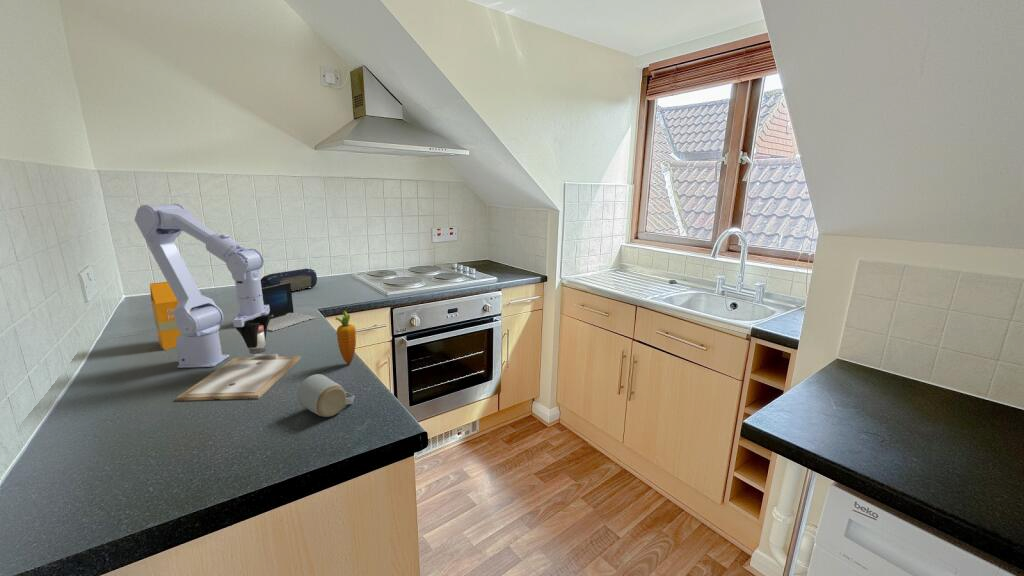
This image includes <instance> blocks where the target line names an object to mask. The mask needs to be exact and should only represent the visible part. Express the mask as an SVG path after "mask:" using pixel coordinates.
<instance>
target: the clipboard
mask: <svg viewBox="0 0 1024 576" xmlns="http://www.w3.org/2000/svg"><path fill="white" fill-rule="evenodd" d="M301 359H302V356H301V355H292V356H291V355H290V356H289V355H288V356H284V355H283V356H279V353H258V354H253V356H248V357H247V356H242V357H234V358H232V359H231V360H229V361H228V362H227V363H225V364H223V365H222V366H220V367H219V368H217V369H216V370H215V371H213V372H212V373H210V374H209V375H207V376H205V377H204V378H203V379H202V380H200V381H198V382H197V383H195V384H194V385H193V386H191V387H190V388H188V389H187V390H185V391H184V392H182V393H181V394H179V395H178V396H176V401H177V402H179V401H180V402H182V401H210V400H212V401H213V400H214V399H220V400H246V399H248V398H249V399H251V398H252V399H260V398H261V397H262V396H263V395H264V394H265V393H266V392H267V391H268V390H269V389H271V387H273V385H275V382H276V383H277V381H279V380H280V379H281V378H282V377H283V376H284V375H285V374H286V373H288V371H290V370H291V368H293V367H294V366H295V365H296V364H297V363H298V362H299V361H300V360H301ZM249 399H248V400H249ZM252 399H251V400H252Z"/></svg>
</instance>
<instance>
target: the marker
mask: <svg viewBox="0 0 1024 576" xmlns="http://www.w3.org/2000/svg"><path fill="white" fill-rule="evenodd" d="M266 345H267V344H266V339H265V336H264V327H263V325H261V324H260V325H259V328H258V333H257V347H256V348H248V352H249V354H251V355H256V354H263V353H265V352H266V351H267V346H266Z"/></svg>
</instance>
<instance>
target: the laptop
mask: <svg viewBox="0 0 1024 576" xmlns="http://www.w3.org/2000/svg"><path fill="white" fill-rule="evenodd" d="M292 293H293V292H291V284H290V282H289V283H284V284H280V285H275V286H270V287H266V288H262V296H263V303H264V305H269V309H270V311H269V314H270V315H271V319H270V321H269V324H268V327H267V331H271V332H276V331H278V329H279V330H282V329H285V328H288V326H289V327H292V326H294V325H293V324H295V325H297V324H296V323H298V324H300V323H299V322H301V323H303V322H302V321H304V322H307V321H306V320H308V321H310V320H309V319H311V320H314V319H316V318H317V316H313V315H308V314H307V315H306V314H302V313H299V314H300V315H297V314H298V313H297V312H294V304H293V296H292V295H293V294H292ZM292 313H293V314H294V313H295V314H296V315H297V316H296V315H295V314H294V315H293V314H292ZM289 314H292V317H291V316H290V315H289ZM303 315H304V316H303ZM294 316H295V317H294ZM283 317H284V318H283ZM297 318H298V319H297ZM313 318H314V319H313ZM284 319H285V320H284ZM291 325H292V326H291ZM275 330H276V331H275Z"/></svg>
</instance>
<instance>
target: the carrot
mask: <svg viewBox="0 0 1024 576" xmlns="http://www.w3.org/2000/svg"><path fill="white" fill-rule="evenodd" d="M342 315H343V316H342V318H340V317H337V316H336V317H335V320H337V321H338V322H339V323H340V324H341V325H339V326H338V327H337V329H336V337H337V345H338V348H339V351H340V354H341V357H342V359H343V360H344V362H345V363H346V364H348V365H350V364H351V363H352V361H353V359H354V356H355V353H356V347H357V334H356V333H357V331H356V330H357V329H356V326H355V325H354V324H353V325H352V324H350V319H351V314H348V312H347V311H343V312H342Z"/></svg>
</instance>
